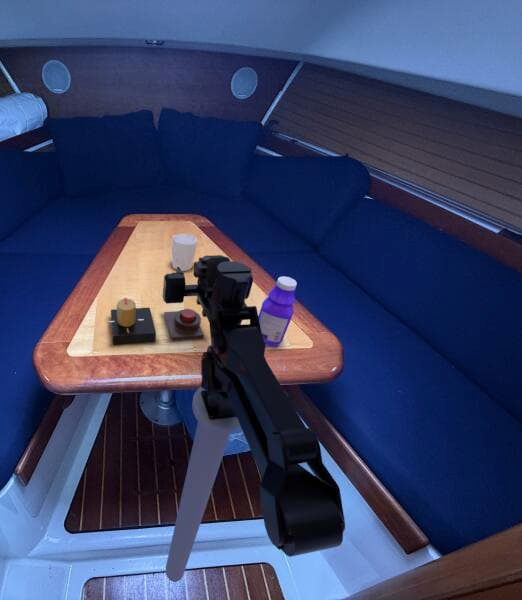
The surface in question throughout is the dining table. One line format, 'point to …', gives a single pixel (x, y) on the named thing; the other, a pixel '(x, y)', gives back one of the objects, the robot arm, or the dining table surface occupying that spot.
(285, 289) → the bottle
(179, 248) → the white cup
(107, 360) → the dining table surface
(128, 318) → the lock knob
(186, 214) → the dining table surface
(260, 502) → the robot arm
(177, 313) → the button block
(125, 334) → the black dial base
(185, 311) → the red button
